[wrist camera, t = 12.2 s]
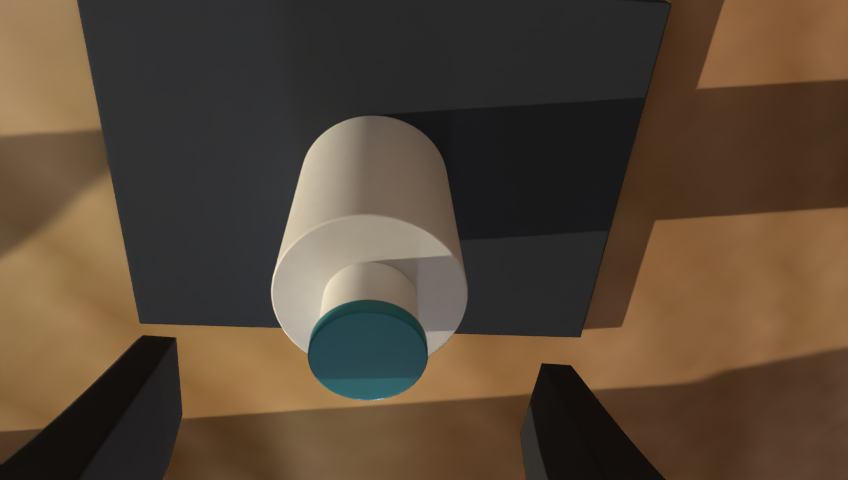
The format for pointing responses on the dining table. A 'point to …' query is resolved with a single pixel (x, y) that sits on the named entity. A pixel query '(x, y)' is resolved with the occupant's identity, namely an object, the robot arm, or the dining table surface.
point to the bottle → (370, 258)
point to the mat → (369, 96)
